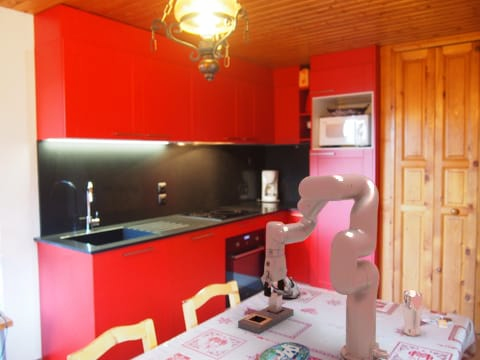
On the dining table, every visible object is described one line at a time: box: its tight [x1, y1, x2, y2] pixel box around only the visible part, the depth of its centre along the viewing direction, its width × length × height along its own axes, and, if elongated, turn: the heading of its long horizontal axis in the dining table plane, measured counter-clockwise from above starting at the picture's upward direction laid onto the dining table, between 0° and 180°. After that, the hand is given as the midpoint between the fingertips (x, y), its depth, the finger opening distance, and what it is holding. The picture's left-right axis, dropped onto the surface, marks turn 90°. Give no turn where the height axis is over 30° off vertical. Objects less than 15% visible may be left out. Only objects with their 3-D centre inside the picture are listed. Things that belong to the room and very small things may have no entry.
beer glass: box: [401, 290, 424, 337], centre depth 149 cm, size 7×7×15 cm
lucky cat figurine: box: [271, 275, 302, 299], centre depth 190 cm, size 15×12×14 cm
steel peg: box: [268, 292, 283, 314], centre depth 164 cm, size 4×4×9 cm
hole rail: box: [237, 305, 294, 335], centre depth 159 cm, size 10×24×3 cm, turn 141°
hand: (274, 293), depth 164 cm, fingers open, 9 cm apart
